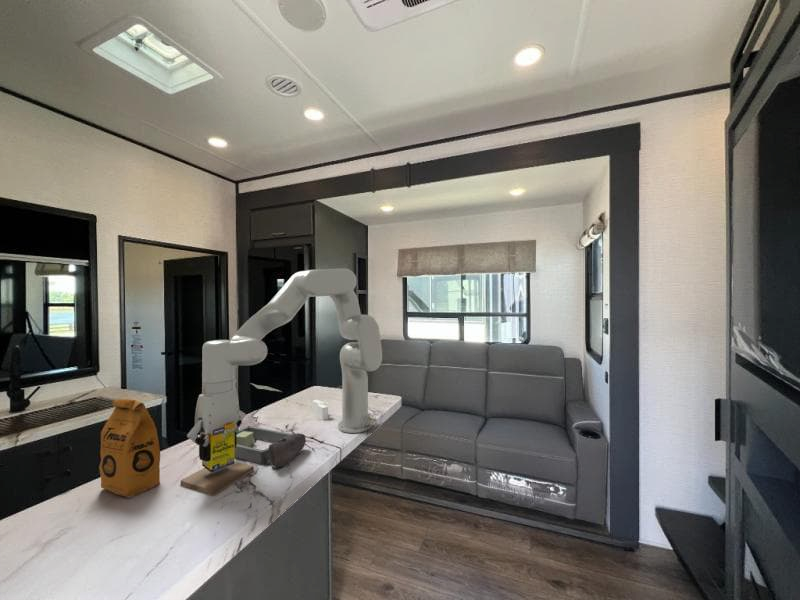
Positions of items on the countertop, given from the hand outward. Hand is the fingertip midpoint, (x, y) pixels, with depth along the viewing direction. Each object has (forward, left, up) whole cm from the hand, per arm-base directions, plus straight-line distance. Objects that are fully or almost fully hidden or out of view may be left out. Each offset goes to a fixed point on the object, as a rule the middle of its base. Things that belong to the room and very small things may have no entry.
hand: (218, 452), depth 83 cm
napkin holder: (+3, -47, -7) cm, 48 cm away
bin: (+4, -16, -7) cm, 18 cm away
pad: (0, 0, -7) cm, 7 cm away
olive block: (+9, -16, -7) cm, 20 cm away
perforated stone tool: (-11, -15, -7) cm, 19 cm away
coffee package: (+17, +11, -7) cm, 21 cm away
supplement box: (0, 0, -3) cm, 3 cm away
